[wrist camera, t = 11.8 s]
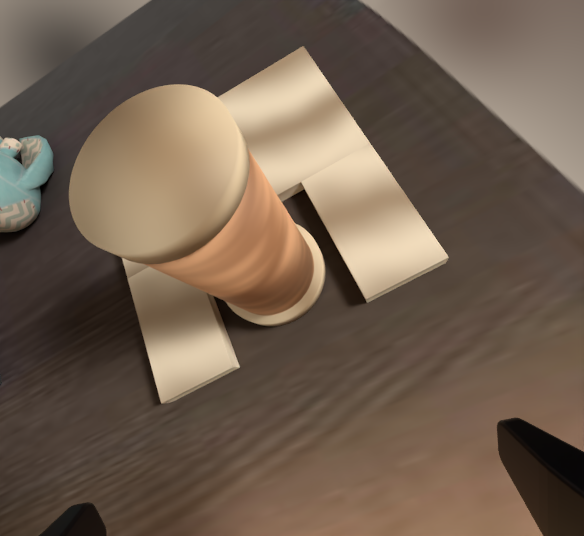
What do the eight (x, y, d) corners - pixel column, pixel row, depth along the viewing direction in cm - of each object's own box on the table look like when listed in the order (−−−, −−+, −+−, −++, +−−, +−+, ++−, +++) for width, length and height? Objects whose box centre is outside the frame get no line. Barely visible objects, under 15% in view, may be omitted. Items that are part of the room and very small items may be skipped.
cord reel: (285, 348, 21) (152, 312, 9) (208, 290, 24) (25, 203, 12) (346, 257, 22) (295, 115, 10) (264, 210, 25) (145, 52, 13)
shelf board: (446, 262, 20) (448, 257, 19) (170, 402, 22) (161, 403, 21) (306, 57, 28) (303, 46, 27) (107, 176, 29) (98, 169, 29)
